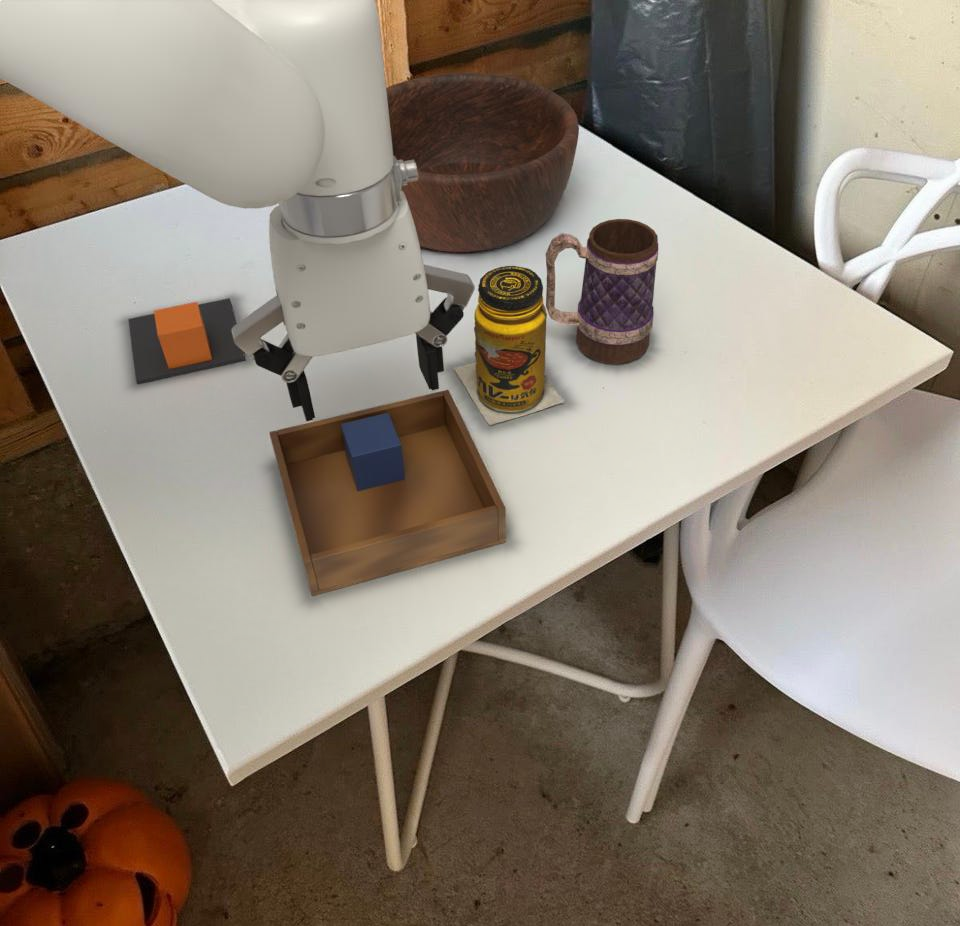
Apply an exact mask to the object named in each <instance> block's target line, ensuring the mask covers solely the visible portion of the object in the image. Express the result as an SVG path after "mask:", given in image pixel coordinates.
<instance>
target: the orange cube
mask: <svg viewBox="0 0 960 926" xmlns="http://www.w3.org/2000/svg"><path fill="white" fill-rule="evenodd" d="M198 305H199V302H198V301H194V302H189V303H184V304H179V305H173V306H169V307H164V308H159V309H154V310H153V314H154V315H155V321H156V328H157V334H158V338H159V341H160V344H161V347H162V350H163V353H164V356H165V359H166V361H167V364H168V367H169V369H173V368H178V367H182V366H187V365H191V364H196V363H200V362H205V361H210V360H212V356H211V351H210V347H209V342H208V337H207V333H206V330H205V326H204V323H203V320H202V316H201V313H200V309H199V306H198Z"/></svg>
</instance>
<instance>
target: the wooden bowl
mask: <svg viewBox="0 0 960 926" xmlns="http://www.w3.org/2000/svg"><path fill="white" fill-rule="evenodd" d="M386 91H387V101H388V111H389V120H390V130H391V139H392V149H393V156H395V157H396V159H397V160H403V161H408V160H414V161H415V163H416V166H417V170H418V180H417V181H412V182H408V184H407V185H404V186H402V191H403V192H404V194H405V197H406V199H407V202H408V205H409V208H410V211H411V214H412V218H413V221H414V224H415V228H416V232H417V236H418V240H419V244H420V248H425V249H429V250H434V251H440V252H448V253H470V252H471V253H472V252H482V251H488V250H494V249H499V248H502V247H505V246H509V245H512V244H514V243H516V242H519V241H521V240H523V239H524V238H526V237H528V236H530V235H532V234H533V233H534V232H536V231H537V230H538V229H540V228H541V227H542V226H544V224H545V223H547V221H548V220H549V218H550V217H551V216H552V215H553V214H554V212H555V210H556V209H557V207H558V205H559V204H560V202H561V200H562V198H563V196H564V193H565V191H566V188H567V187H568V184H569V180H570V177H571V174H572V171H573V170H572V169H573V167H574V166H573V165H574V161H575V157H576V151H577V147H578V141H579V135H580V126H579V125H580V124H579V121H578V120H579V119H578V116H577V114H576V112H575V110H574V109H573V107H572V106H571V105H570V104H569V102H568V101H566V99H564V98H563V97H562V96H560V95H559V94H557V93H555V92H554V91H552V90H550V89H549V88H547V87H544V86H542V85H540V84H537V83H534V82H532V81H529V80H525V79H521V78H517V77H512V76H507V75H503V74H502V75H501V74H493V73H483V72H482V73H481V72H454V73H453V72H451V73H442V74H441V73H440V74H433V75H427V76H422V77H416V78H413V79H408V80H404V81H401V82H399V83H395V84H393V85H389V86H386Z"/></svg>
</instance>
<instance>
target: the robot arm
mask: <svg viewBox="0 0 960 926" xmlns="http://www.w3.org/2000/svg"><path fill="white" fill-rule="evenodd" d="M381 33H382V32H381V26H380V18H379V12H378V7H377V3H376V1H375V0H0V80H2V81H4V82H6V83H7V84H10V85H11V86H13V87H15V88H17V89H19V90H21V91H22V92H24V93H26V94H28V95H29V96H31V97H33V98H34V99H36V100H38V101H39V102H42V103H43V104H45V105H46V106H48V107H50V108H52V109H54V110H55V111H57V112H59V113H60V114H62V115H63V116H65V117H66V118H69V119H70V120H72V121H74V122H76V123H77V124H79V125H80V126H81V127H83V128H85V129H87V130H89V131H90V132H92V133H94V134H95V135H97V136H98V137H99V136H100V137H101V138H102V139H104V140H105V141H108V142H110V143H111V144H113V145H115V146H116V147H118V148H120V149H122V150H124V151H125V152H127V153H129V154H131V155H132V156H134V157H136V158H138V159H140V160H141V161H143V162H145V163H147V164H149V165H150V166H152V167H154V168H155V169H157V170H160V171H161V172H163V173H165V174H167V175H169V176H170V177H172V178H174V179H176V180H178V181H179V182H181V183H183V184H184V185H186V186H188V187H190V188H192V189H194V190H195V191H196V192H197V191H198V192H199V193H201V194H202V195H205V196H206V197H209V198H210V199H213V200H215V201H217V202H218V203H220V204H224V205H227V206H230V207H235V208H240V209H263V208H269V207H273V206H275V207H274V208H273V209H272V210H271V211H270V212H269V213H270V214H269V221H268V222H269V223H268V236H269V239H268V240H269V252H270V261H271V268H272V275H273V281H274V287H275V293H276V294H275V296H273V297H272V298H271V299H270V300H268V301H266V302H265V303H263V304H262V305H261V306H260V307H258V308H257V309H255V310H254V311H253V312H251V313H250V314H248V315H247V316H245V318H243V319H242V320H240V321H238V322H236V325H235V326H233V328H232V335H233V339H234V343H235V344H236V345H237V346H238V347H239V348H240V349H241V350H242V351H243V352H244V354H245V355H247V357H250V358H251V359H252V360H253V361H254V363H255V365H256V366H258V367H260V368H262V369H265V370H266V371H268V372H271V373H273V374H276V375H278V376H280V377H281V380H282V381H283V382H284V383H286V387H287V391H288V395H289V400H290V403H291V406H292V409H295V408H299V407H301V408H302V412H303V415H304V418H305V422H306V423H308V422H312V421H314V419H315V418H316V413H315V410H314V409H315V408H314V404H313V400H312V396H311V391H310V388H309V382H308V378H307V375H306V371H305V369H306V368H307V366H308V364H309V363H310V362H311V360H312V359H313V358H314V357H315V358H316V357H322V356H327V355H332V354H336V353H341V352H346V351H350V350H354V349H358V348H363V347H367V346H371V345H375V344H380V343H383V342H384V343H385V342H388V341H392V340H396V339H401V338H404V337H407V336H411V335H413V334H415V338H416V347H417V348H416V349H417V350H416V351H417V358H418V366H419V370H420V372H421V374H422V377H423V379H424V382H425V383H426V385H427V388H428V389H429V390H431V391H436V390H437V391H438V390H440V382H439V373H443V372H445V366H444V365H445V364H444V351H443V347H444V346H445V345H446V344H447V343H448V337H447V336H448V335H449V334H450V333H451V332H452V331H453V329H454V328H455V327H456V326H457V325H458V324H459V323H460V321H461V320H462V319H463V318H464V314H465V313H464V310H465V308H466V307H468V304H469V302H470V300H471V298H472V296H473V294H474V292H475V289H476V287H475V283H474V282H473V280H472V278H470V276H469V275H468V274H466V273H463V272H459V271H454V270H449V269H445V268H440V267H436V266H432V265H427V264H424V260H423V255H422V251H421V246H420V244H419V240H418V236H417V232H416V228H415V224H414V221H413V218H412V214H411V211H410V208H409V205H408V202H407V199H406V197H405V194H404V192H403V191H402V186H404V185H407V184H408V182H412V181H417V180H418V170H417V166H416V163H415V161H414V160H408V161H403V160H397V159H396V157H395V156H393V149H392V139H391V130H390V120H389V111H388V101H387V91H386V88H387V83H386V74H385V73H386V71H385V64H384V55H383V45H382V44H383V43H382V35H381ZM429 291H435V292H438V293H444V294H446V297H445V298H443V300H442V301H440V303H439V304H438V306H437V307H435V309H434V310H433V311H431V303H430V302H431V301H430V293H429ZM281 324H283V325H284V327H285V330H286V334H285V336H284V337H283V339H282V341H281V342H280V344H279V346H278V345H275V344H273V343H271V342H269V341H267V340H265V339H262V337H263V336H265V335H266V334H268V333H269V332H271V331H272V330H273V329H275V328H276V327H277V326H279V325H281Z"/></svg>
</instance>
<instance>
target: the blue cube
mask: <svg viewBox="0 0 960 926" xmlns="http://www.w3.org/2000/svg"><path fill="white" fill-rule="evenodd" d="M341 429H342V435H343V440H344V446H345V452H346V458H347V461H348V464H349V467H350V470H351V473H352V476H353V479H354V482H355V485H356V488H357V491H361V490H365V489H369V488H373V487H377V486H381V485H385V484H388V483H392V482H396V481H400V480H404V479H405V473H404V464H403V455H402V446H401V443H400V440H399V438H398V435H397V433H396V430H395V428H394V425H393V423H392V420H391V418H390V415H389V413H385V414H381V415H377V416H373V417H368V418H364V419H360V420H356V421H352V422H348V423H343V424H341Z"/></svg>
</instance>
